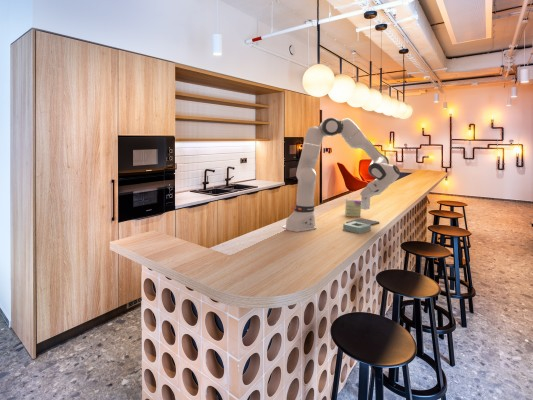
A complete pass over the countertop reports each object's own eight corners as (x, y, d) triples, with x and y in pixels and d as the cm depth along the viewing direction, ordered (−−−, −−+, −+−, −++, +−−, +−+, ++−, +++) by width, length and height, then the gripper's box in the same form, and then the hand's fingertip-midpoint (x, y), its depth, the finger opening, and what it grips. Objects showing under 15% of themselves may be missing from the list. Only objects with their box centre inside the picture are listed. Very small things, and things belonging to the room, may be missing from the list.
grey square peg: (366, 209, 217) (367, 191, 215) (360, 208, 220) (361, 191, 218) (369, 208, 220) (370, 191, 218) (364, 207, 223) (365, 190, 221)
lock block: (359, 233, 198) (359, 228, 198) (343, 229, 207) (343, 224, 207) (370, 230, 206) (371, 224, 206) (354, 226, 215) (354, 221, 214)
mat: (364, 227, 212) (364, 226, 212) (346, 223, 222) (346, 222, 222) (379, 223, 223) (379, 221, 223) (361, 219, 234) (361, 218, 234)
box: (359, 215, 248) (359, 199, 245) (360, 216, 242) (361, 200, 240) (345, 214, 249) (345, 199, 246) (346, 216, 243) (346, 200, 241)
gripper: (384, 180, 218) (370, 193, 227) (367, 183, 205) (353, 196, 214) (390, 187, 216) (376, 200, 225) (373, 191, 203) (358, 204, 212)
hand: (364, 198), depth 219 cm, fingers closed on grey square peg, 4 cm apart
